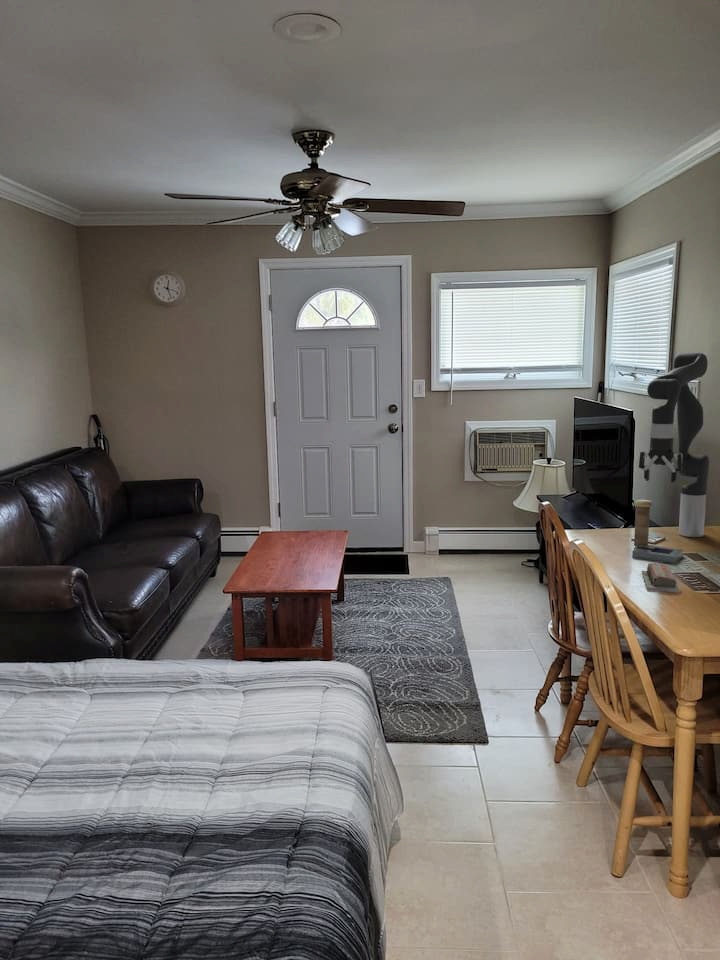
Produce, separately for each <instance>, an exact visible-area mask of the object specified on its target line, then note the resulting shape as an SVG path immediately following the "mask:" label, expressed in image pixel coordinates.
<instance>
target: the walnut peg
mask: <svg viewBox="0 0 720 960" xmlns="http://www.w3.org/2000/svg"><path fill="white" fill-rule="evenodd" d="M633 505H634V506H635V516H634V517H635V520H634V536H633V537H634V539H633V545H634V546H635V547H636V546H637V547H638V546H640V545H641V544H646V545H649V535H650V534H649V530H650V512H651V509H650V508H651V507H652V506H653V501H652V500H648V499H636V500H635V499H634V500H633Z"/></svg>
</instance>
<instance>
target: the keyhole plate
mask: <svg viewBox="0 0 720 960" xmlns="http://www.w3.org/2000/svg"><path fill="white" fill-rule="evenodd" d="M683 553H684V549H681V548H674V547H666V546H658V545H652V544H648V545H646V544H641V545H640V546H635V547H633V549H632V555H631V556H632V558H633V559H639V558H640V560H646V559H648V560H647V561H652V560H656V561H655V562H659V561H663V562H662V563H666V562H669V563H668V564H672V563H675V562H676V561H677V560H678V559H679V558H680V559H681V558H683V556H684V555H683ZM680 559H679V560H680ZM679 560H678V561H679ZM678 561H677V562H678ZM677 562H676V563H677ZM676 563H675V564H676Z"/></svg>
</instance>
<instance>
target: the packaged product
mask: <svg viewBox="0 0 720 960" xmlns="http://www.w3.org/2000/svg"><path fill="white" fill-rule="evenodd" d="M641 575H643V576H642V580H643V579H644V580H643V584H644V583H645V584H644V586H645V589H646V591H649V590H653V591H652V592H663V593H665V592H666V593H667V592H668V593H681V591H682V589H681V587H680V586H679V584H678V581H677V579H676V578H675V575H674V573H673V572H672V569H671V567H670V566H669V565H668V564H665V563H656V562H655V563H654V562H653V563H651V562H649V563H648V564H647V568H646V570H641Z"/></svg>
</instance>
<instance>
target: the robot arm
mask: <svg viewBox="0 0 720 960" xmlns="http://www.w3.org/2000/svg"><path fill="white" fill-rule="evenodd" d="M708 365H709V364H708V357H707V355H705V354H704V353H700V352H693V353H692V352H686V353H678V354H676V355H675V357H674V361H673V369H672V370H670V371H669V372H667V373H666V374H665V375H661V376H658V377H655V378H653V379H652V380H651V381H650V382H649V383H648V385H647V390H646V391H647V395H648V396H649V397H650V398H651V399H652V400H667V401H666V403H665V404H662V405H658V406H654V407H653V408H652V411H651V412H652V414H651V427H650V433H649V436H650V439H649V441H650V442H649V451H645V450H643V451H640V453H639V460H638V461H639V462H638V468H639V469H641V470H644V474H643V478H644V480H645V481H646V482H648V481H650V472H651V470H650V468H651V467H652V466H653V465H657V466H658V465H661V466H667V467H668V468H669V469H670V471H671V476H670V483H675V482H676V481H677V479H678V477H677V475H678V473H679V475H680V476H682V477H690V478H696V481H694V482H692V483H687V484H684V485H682V486H681V488H680V504H679V519H678V520H679V521H678V523H679V524H678V535H679V536H682V537H689V538H700V537H704V532H705V531H704V530H705V519H706V518H705V517H706V503H707V502H706V501H707V498H706V497H707V488H708V487H707V486H708V476H709V467H710V459H709V456H708V455H706V454H698V453H697V454H696V453H689V451H690V450H689V449H690V446H691V444H692V442H693V440H694V439H696V437H697V435H698V434H699V433H700V431H701V430H702V428H703V425H704V408H703V406H702V403H701V402H700V400H699V399H698V398H697V397H696V396H695V395H694V393H693V392H692V390H691V389H690V387H689V384H688V383H690V382H692V381H694V380H697V379H699V378H701V377H703V376H704V375H705V374H706V372H707V370H708ZM675 409H676V418H677V420H676V421H677V432H678V434H677V435H678V453H674V438H675V428H674V425H675V424H674V421H675V419H674V418H675ZM647 457H649V459H650V460H649V461H648V463H646V465H645V462H646V458H647ZM673 458H675V460H676V461H677V467H676V464H675V462H673V460H672V459H673Z"/></svg>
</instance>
